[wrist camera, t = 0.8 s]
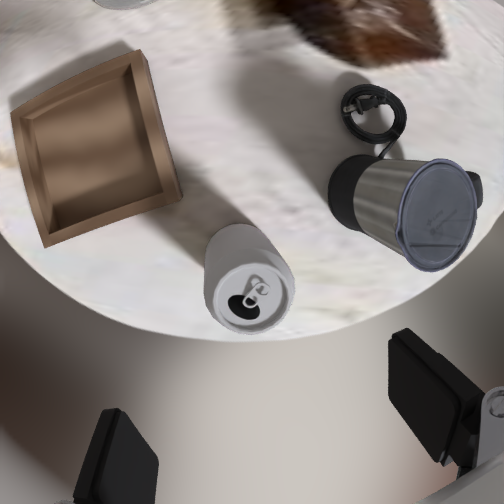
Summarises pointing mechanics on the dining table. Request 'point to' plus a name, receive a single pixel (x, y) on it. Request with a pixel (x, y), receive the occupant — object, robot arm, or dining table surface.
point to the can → (246, 280)
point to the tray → (94, 150)
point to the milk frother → (403, 192)
